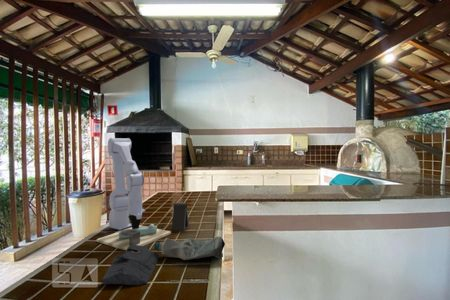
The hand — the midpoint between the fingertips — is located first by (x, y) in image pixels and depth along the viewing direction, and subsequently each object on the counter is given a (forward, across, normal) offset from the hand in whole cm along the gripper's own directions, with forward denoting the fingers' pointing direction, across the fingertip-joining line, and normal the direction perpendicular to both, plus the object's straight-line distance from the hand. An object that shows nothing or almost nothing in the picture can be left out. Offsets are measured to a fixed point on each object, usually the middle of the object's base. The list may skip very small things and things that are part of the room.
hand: (135, 231), depth 109 cm
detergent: (+2, -32, -12) cm, 34 cm away
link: (+1, -2, -1) cm, 2 cm away
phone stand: (+2, 0, -21) cm, 21 cm away
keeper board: (+2, -1, 0) cm, 2 cm away
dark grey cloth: (+3, -29, +8) cm, 31 cm away
